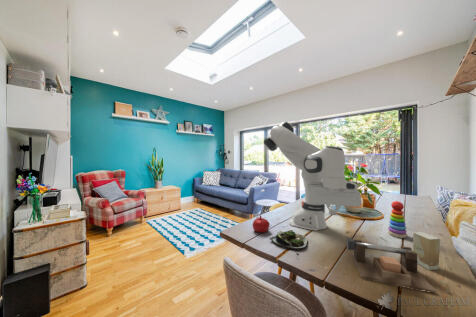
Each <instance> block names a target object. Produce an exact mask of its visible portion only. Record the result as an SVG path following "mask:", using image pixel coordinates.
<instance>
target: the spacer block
mask: <svg viewBox="0 0 476 317" xmlns="http://www.w3.org/2000/svg"><path fill="white" fill-rule="evenodd" d="M379 258H380V264H381V266H382V267H383V269H384V270H385V271H389V272H395V273H400V274H401V265H400V264H399V263H400V262H399V261H398V260H397V258H395V257H390V256H384V255H379Z"/></svg>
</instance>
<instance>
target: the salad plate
mask: <svg viewBox="0 0 476 317" xmlns="http://www.w3.org/2000/svg"><path fill="white" fill-rule="evenodd" d="M298 238H299V239H298ZM269 240H270V241H272V242H273V244H275V246H277V247H279V248H283V249H287V250H291V251H302V250H304V249H305V248H306V247H307V245H308V244H307V243H308V238H307V236H306V235H303V234H300V233H296V232H295V231H294V230H293V229H292V230H291V229H289V230H286V231H279V232H277V233H275V235H273V236H271V237H269Z"/></svg>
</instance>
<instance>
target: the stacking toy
mask: <svg viewBox="0 0 476 317" xmlns="http://www.w3.org/2000/svg"><path fill="white" fill-rule="evenodd" d="M390 205H391V208H392V209H391V213H390V217H389V224H388V227H387V229H388V230H387V233H388V234H389V235H390V236H392V237H395V238H400V239H406V238H407V237H408V233H407V226H406V222H405V221H406V220H405V216H404V211H403V209H404V207H405V206H404V204H403V202H401V201H398V200H395V201H392V202H391V204H390Z"/></svg>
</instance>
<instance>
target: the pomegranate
mask: <svg viewBox="0 0 476 317" xmlns="http://www.w3.org/2000/svg"><path fill="white" fill-rule="evenodd" d="M270 225H271V224H270V222H269V221H268V219H266V217H265V216H264V217H262V215H261V214H260V215H259V216H256V217H255V219H254V220H253V222H252V229H253V230H254V232H257V233H262V234H264V233H266V232H268V230H269V229H270ZM263 232H264V233H263Z"/></svg>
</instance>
